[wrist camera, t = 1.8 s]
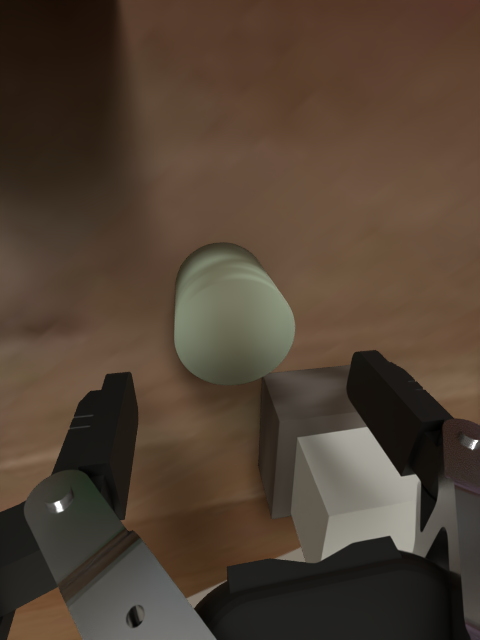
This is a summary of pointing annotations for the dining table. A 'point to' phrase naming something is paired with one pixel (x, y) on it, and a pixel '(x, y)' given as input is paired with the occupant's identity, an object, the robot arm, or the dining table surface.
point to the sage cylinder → (229, 316)
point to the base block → (298, 423)
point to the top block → (349, 494)
